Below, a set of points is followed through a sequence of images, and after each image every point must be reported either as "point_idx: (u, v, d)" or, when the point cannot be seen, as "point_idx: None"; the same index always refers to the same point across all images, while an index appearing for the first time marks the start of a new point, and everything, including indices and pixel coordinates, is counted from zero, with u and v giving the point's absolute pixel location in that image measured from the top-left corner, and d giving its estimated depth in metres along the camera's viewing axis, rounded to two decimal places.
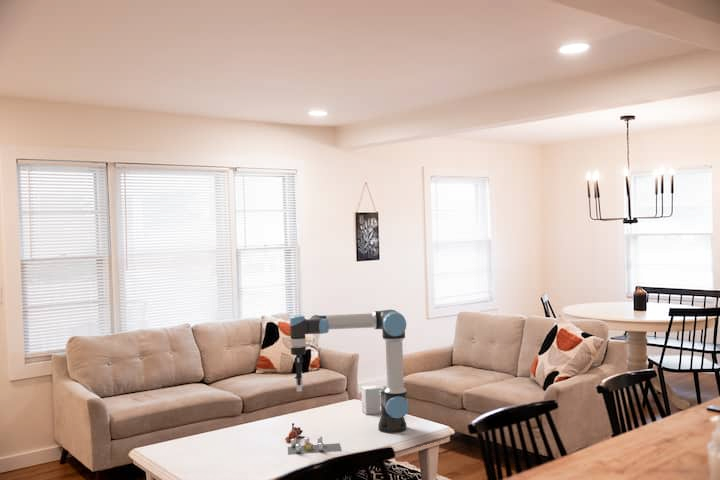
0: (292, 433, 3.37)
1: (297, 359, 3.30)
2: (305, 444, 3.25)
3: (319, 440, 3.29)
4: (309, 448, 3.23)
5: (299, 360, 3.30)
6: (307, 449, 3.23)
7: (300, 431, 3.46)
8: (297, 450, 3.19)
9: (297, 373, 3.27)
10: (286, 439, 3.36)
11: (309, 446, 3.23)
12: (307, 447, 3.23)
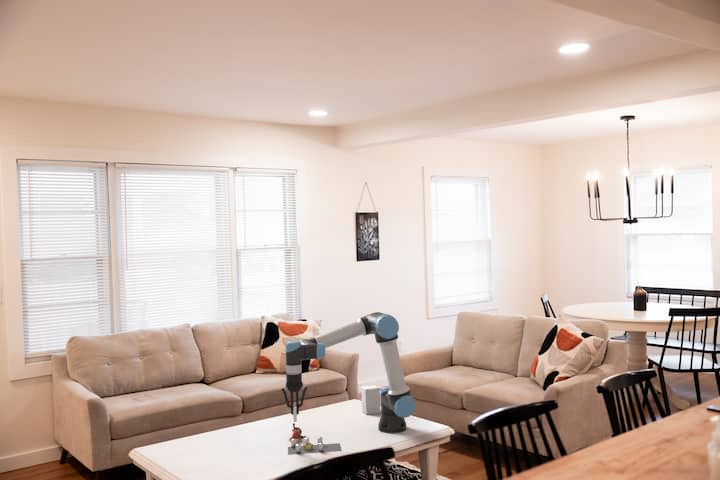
0: (296, 433, 3.37)
1: None
2: (305, 444, 3.25)
3: (319, 440, 3.29)
4: (309, 448, 3.23)
5: (282, 390, 3.23)
6: (307, 449, 3.23)
7: (301, 431, 3.46)
8: (297, 450, 3.19)
9: None
10: None
11: (309, 446, 3.23)
12: (307, 447, 3.23)
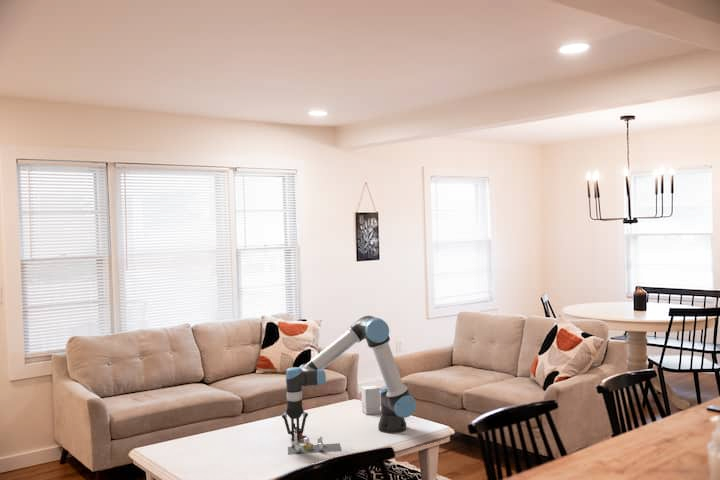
0: None
1: (282, 416, 3.24)
2: (305, 444, 3.25)
3: (319, 440, 3.29)
4: (309, 448, 3.23)
5: (282, 417, 3.23)
6: (307, 449, 3.23)
7: None
8: (297, 450, 3.19)
9: None
10: None
11: (309, 446, 3.23)
12: (307, 447, 3.23)
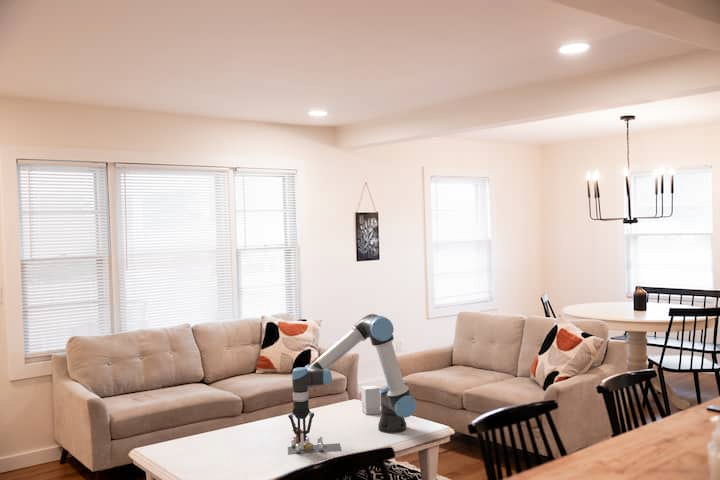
0: (301, 432, 3.38)
1: None
2: (305, 444, 3.25)
3: (319, 440, 3.29)
4: (309, 448, 3.23)
5: (289, 417, 3.23)
6: (307, 449, 3.23)
7: None
8: (297, 450, 3.19)
9: None
10: (296, 439, 3.36)
11: (309, 446, 3.23)
12: (307, 447, 3.23)
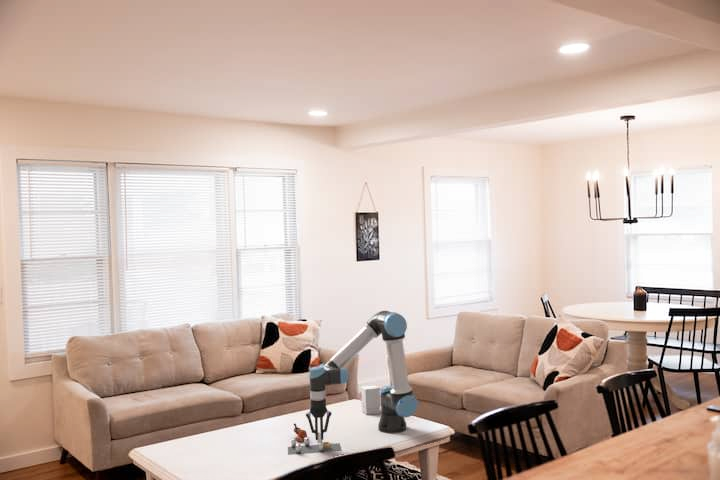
0: (303, 432, 3.38)
1: (306, 415, 3.25)
2: (323, 443, 3.26)
3: None
4: (326, 447, 3.24)
5: (306, 416, 3.24)
6: (324, 448, 3.24)
7: None
8: (297, 450, 3.19)
9: None
10: (299, 439, 3.36)
11: (326, 445, 3.24)
12: (324, 446, 3.24)
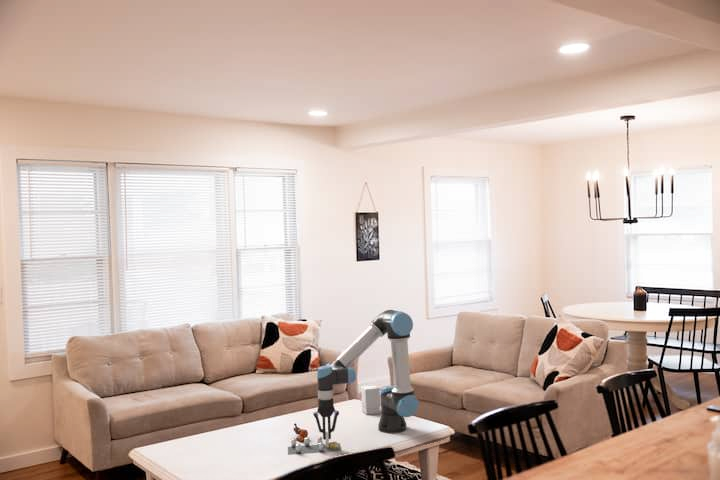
0: (305, 432, 3.39)
1: (313, 414, 3.26)
2: (330, 442, 3.26)
3: (319, 440, 3.29)
4: (333, 447, 3.24)
5: (314, 415, 3.25)
6: (331, 448, 3.24)
7: (301, 430, 3.47)
8: (297, 450, 3.19)
9: None
10: (301, 439, 3.36)
11: (333, 445, 3.24)
12: (331, 446, 3.24)
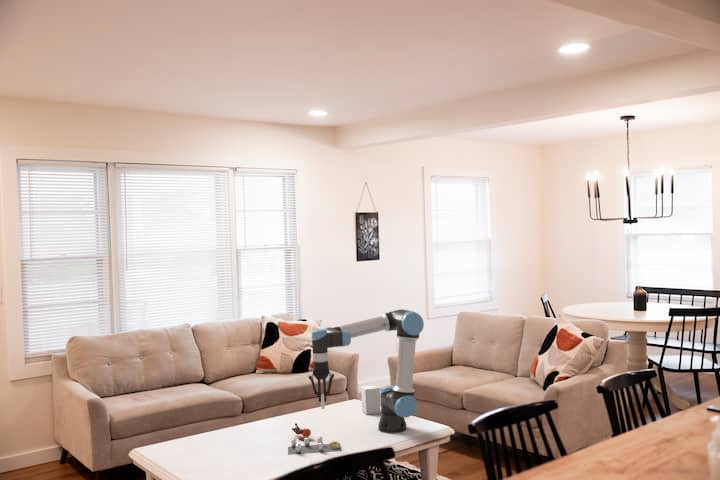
0: (308, 431, 3.40)
1: None
2: (331, 442, 3.26)
3: (319, 440, 3.29)
4: (334, 447, 3.24)
5: (309, 378, 3.26)
6: (332, 448, 3.24)
7: None
8: (297, 450, 3.19)
9: None
10: None
11: (334, 445, 3.24)
12: (332, 446, 3.24)
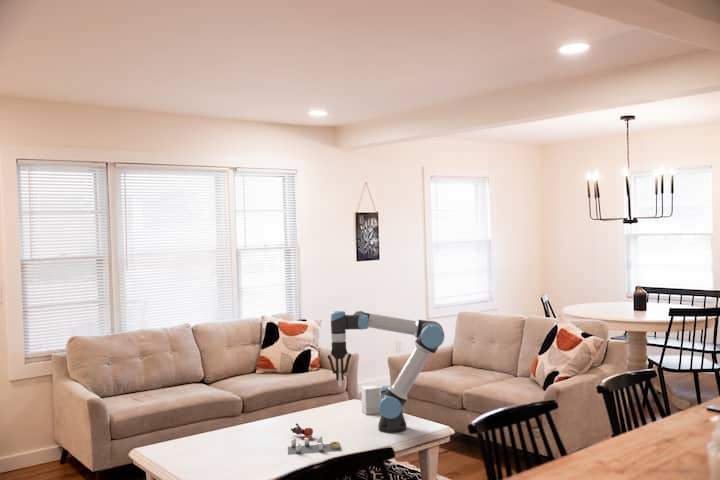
0: (311, 430, 3.42)
1: (327, 356, 3.44)
2: (331, 442, 3.26)
3: (319, 440, 3.29)
4: (334, 447, 3.24)
5: (328, 357, 3.43)
6: (332, 448, 3.24)
7: None
8: (297, 450, 3.19)
9: None
10: (310, 437, 3.39)
11: (334, 445, 3.24)
12: (332, 446, 3.24)
